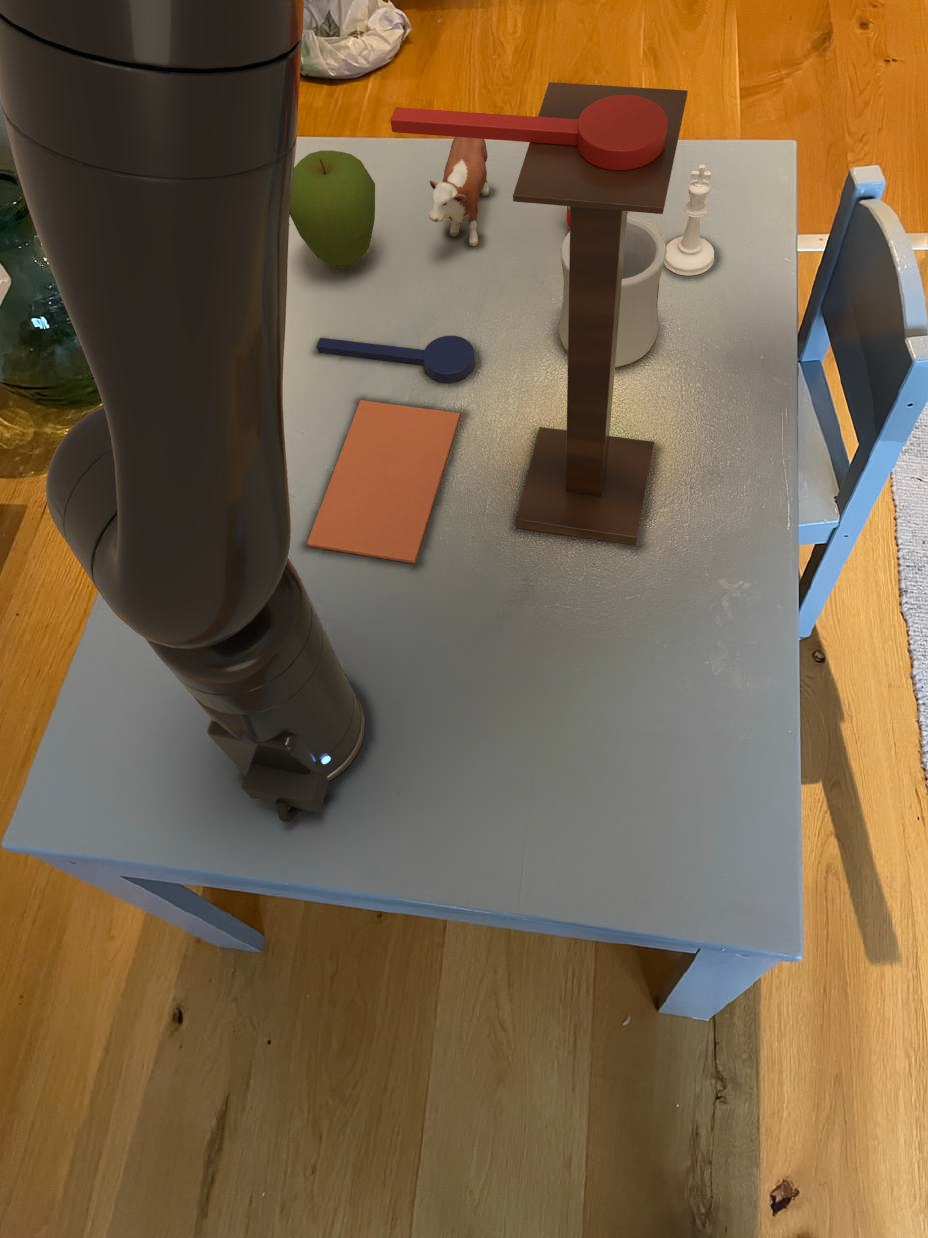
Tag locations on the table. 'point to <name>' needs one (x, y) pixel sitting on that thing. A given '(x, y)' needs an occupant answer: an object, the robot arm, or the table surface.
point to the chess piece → (692, 232)
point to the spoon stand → (592, 325)
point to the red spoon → (559, 129)
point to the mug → (629, 290)
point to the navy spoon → (414, 355)
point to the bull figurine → (461, 185)
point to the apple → (333, 206)
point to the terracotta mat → (385, 481)
